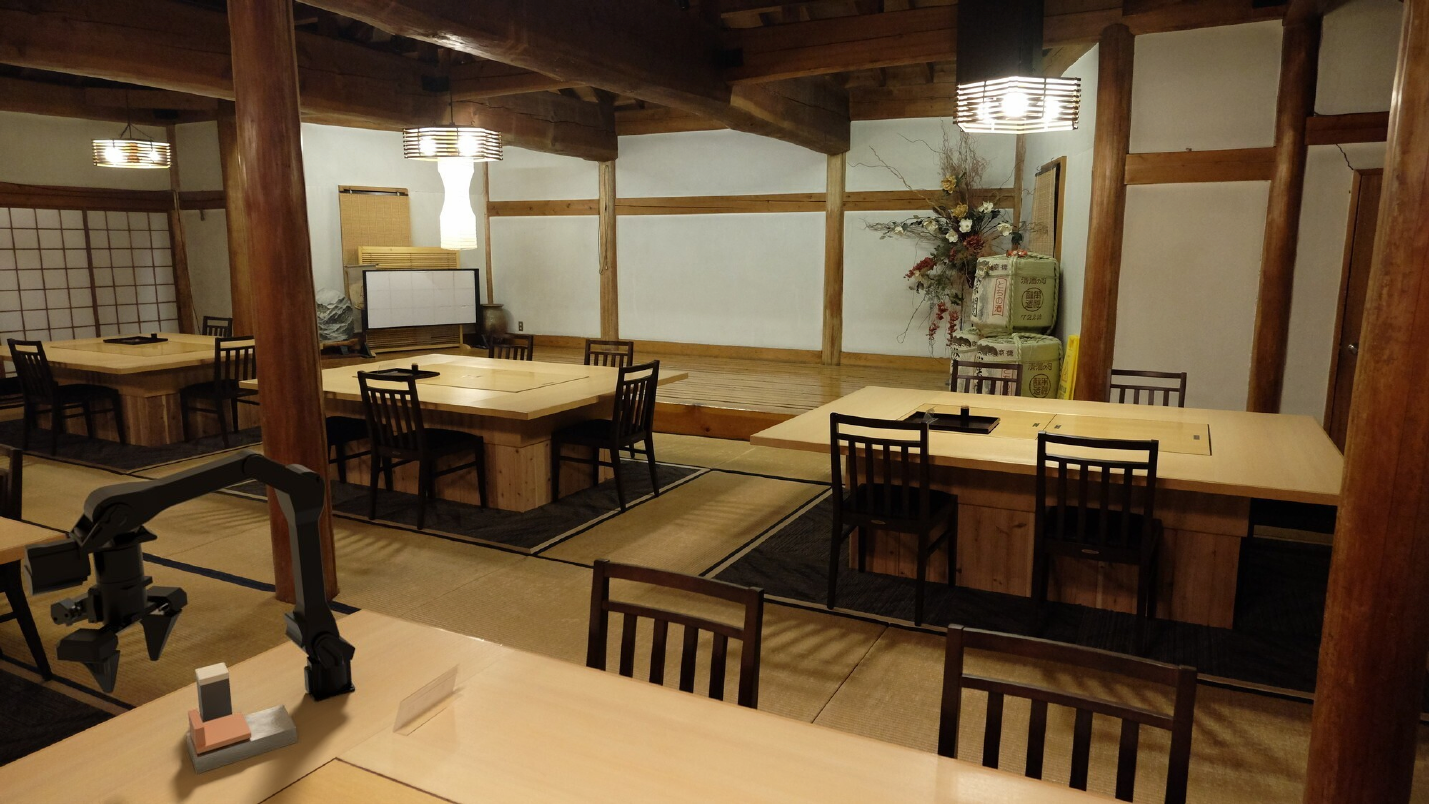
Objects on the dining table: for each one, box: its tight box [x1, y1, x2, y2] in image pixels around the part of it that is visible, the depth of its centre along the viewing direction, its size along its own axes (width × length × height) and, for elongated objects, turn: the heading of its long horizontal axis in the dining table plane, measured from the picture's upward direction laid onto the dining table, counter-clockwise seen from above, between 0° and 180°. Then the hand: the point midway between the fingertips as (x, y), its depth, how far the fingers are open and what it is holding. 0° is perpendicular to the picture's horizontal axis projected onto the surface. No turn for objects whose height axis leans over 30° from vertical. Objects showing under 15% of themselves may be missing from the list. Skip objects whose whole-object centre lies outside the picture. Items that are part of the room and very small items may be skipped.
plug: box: [195, 662, 233, 723], centre depth 138 cm, size 4×4×8 cm
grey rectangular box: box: [185, 704, 298, 775], centre depth 131 cm, size 13×8×2 cm, turn 129°
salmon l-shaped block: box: [187, 708, 251, 754], centre depth 128 cm, size 7×7×4 cm
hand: (132, 676), depth 125 cm, fingers open, 9 cm apart
